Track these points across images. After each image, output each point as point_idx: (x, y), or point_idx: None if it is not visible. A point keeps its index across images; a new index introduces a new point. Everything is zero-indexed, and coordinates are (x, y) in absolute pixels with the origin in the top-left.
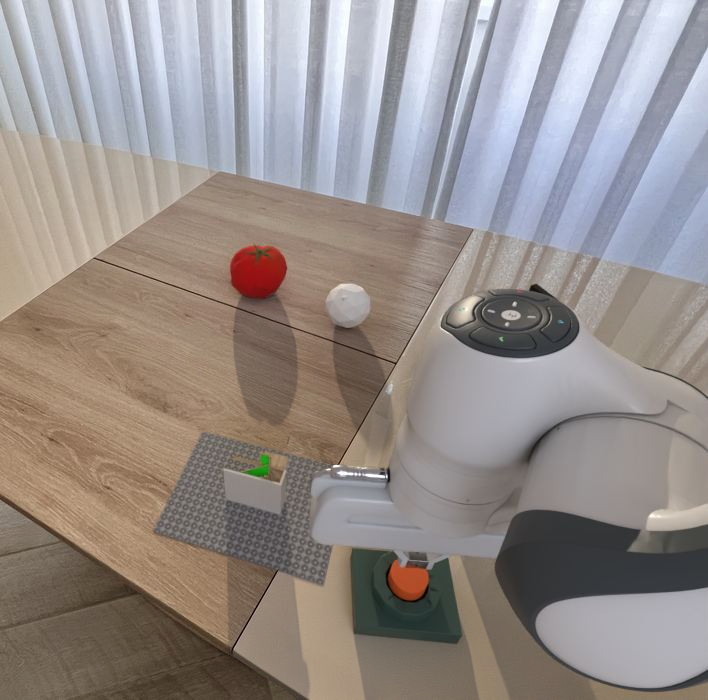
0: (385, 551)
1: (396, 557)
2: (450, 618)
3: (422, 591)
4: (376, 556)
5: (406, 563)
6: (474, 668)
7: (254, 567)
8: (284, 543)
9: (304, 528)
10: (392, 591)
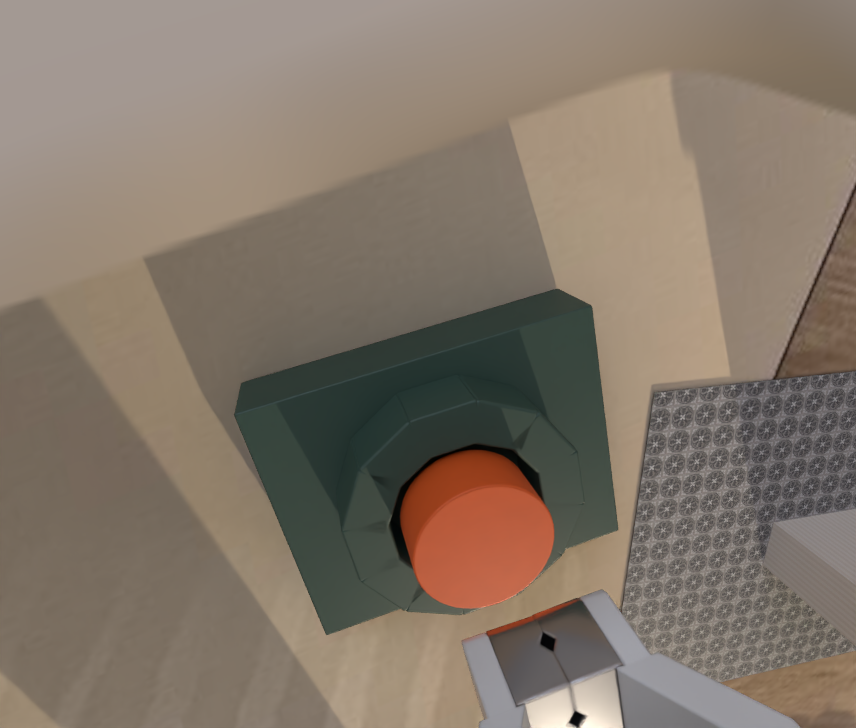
0: None
1: None
2: (285, 452)
3: (427, 510)
4: None
5: (605, 634)
6: (169, 329)
7: (832, 362)
8: (760, 456)
9: (711, 515)
10: None
